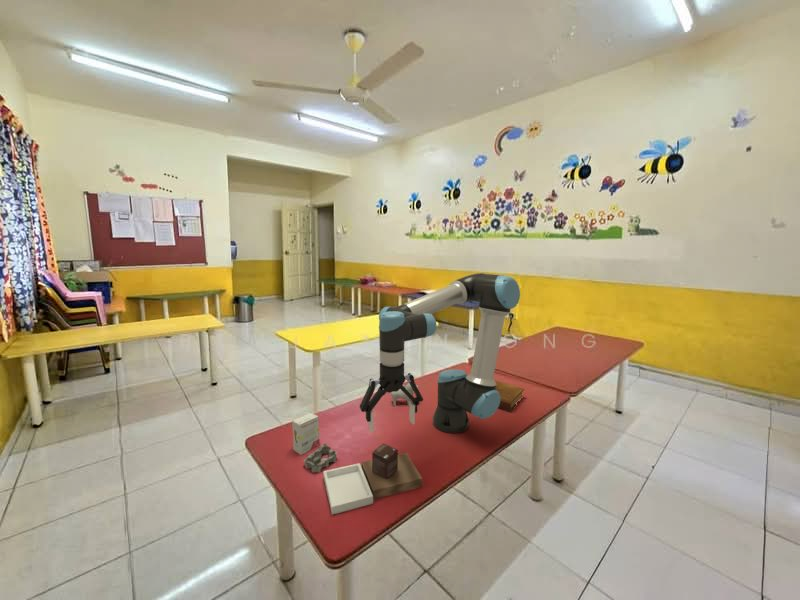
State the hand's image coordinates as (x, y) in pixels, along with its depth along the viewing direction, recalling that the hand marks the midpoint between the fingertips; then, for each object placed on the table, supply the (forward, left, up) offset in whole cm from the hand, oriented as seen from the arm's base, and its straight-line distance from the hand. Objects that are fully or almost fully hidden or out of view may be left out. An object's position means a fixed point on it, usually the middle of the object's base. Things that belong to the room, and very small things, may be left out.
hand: (392, 426), depth 108 cm
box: (+2, 0, -16) cm, 16 cm away
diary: (-67, -37, -19) cm, 79 cm away
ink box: (+24, -26, -19) cm, 40 cm away
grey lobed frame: (+20, -16, -19) cm, 32 cm away
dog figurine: (-23, -47, -19) cm, 56 cm away
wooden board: (0, 0, -18) cm, 18 cm away
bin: (+15, +1, -18) cm, 24 cm away
